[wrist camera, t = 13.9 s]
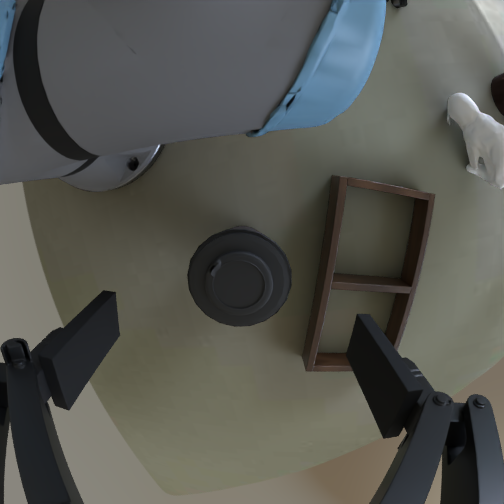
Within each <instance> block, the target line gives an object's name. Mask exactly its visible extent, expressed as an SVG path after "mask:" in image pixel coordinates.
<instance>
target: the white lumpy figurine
mask: <svg viewBox="0 0 504 504" xmlns="http://www.w3.org/2000/svg"><path fill="white" fill-rule="evenodd" d="M447 110H448V114H447V124H448V120H449V125H450V119H449V116H450V117H451V118H452V119H453V120H455V122H457V124H458V125H459V126H460V128H461V130H462V131H463V138H464V140H465V142H466V149H467V153H468V157H469V161H470V164H468V165H467V166H466V170H467V171H468V172H470V173H473V174H475V175H478V176H479V177H480V178H481V179H484V180H485V181H487V182H489V184H490V185H492V186H495V187H497V188H499V189H502V188H503V187H504V126H503V125H502V124H500V123H498V122H496V121H495V120H494V119H493V118H492V117H491V116H490V115H487V114H484V113H481V112H480V111H479V109H478V107H477V105H476V104H475V103H474V102H473V100H472V99H471V98H470V97H469V96H467V95H466V94H464V93H455V94H453V95H451V96H450V97H449V98H448V107H447ZM452 122H453V121H452ZM479 157H481V158H483V160H484V164H480V163H478V160H479Z"/></svg>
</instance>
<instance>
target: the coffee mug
mask: <svg viewBox="0 0 504 504" xmlns="http://www.w3.org/2000/svg"><path fill="white" fill-rule="evenodd" d="M491 90H492V96H493V99H494V102H495V104H496V106H497V108H498V109H499V111H500V112H501V113H502V114H503V115H504V73H503V74H500V75H498V76H496V77H495V78H494V79H493V80H492V84H491Z"/></svg>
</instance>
